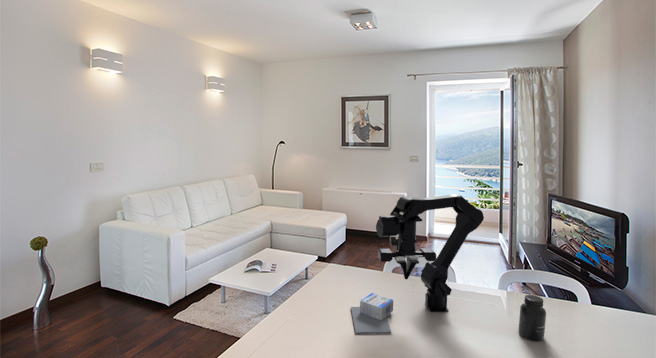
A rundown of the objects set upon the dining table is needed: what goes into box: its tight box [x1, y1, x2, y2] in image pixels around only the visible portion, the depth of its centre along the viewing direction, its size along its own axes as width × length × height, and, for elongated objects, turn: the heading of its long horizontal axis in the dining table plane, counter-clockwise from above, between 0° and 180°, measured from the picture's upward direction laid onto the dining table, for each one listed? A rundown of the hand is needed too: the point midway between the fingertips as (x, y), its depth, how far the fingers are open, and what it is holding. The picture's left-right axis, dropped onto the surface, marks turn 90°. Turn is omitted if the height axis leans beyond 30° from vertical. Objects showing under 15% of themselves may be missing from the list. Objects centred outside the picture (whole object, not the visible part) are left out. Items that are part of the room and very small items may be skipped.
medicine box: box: [359, 292, 394, 320], centre depth 118 cm, size 8×4×9 cm
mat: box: [350, 306, 392, 335], centre depth 114 cm, size 11×16×1 cm
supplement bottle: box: [518, 294, 547, 342], centre depth 105 cm, size 7×7×12 cm
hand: (405, 278), depth 118 cm, fingers closed
